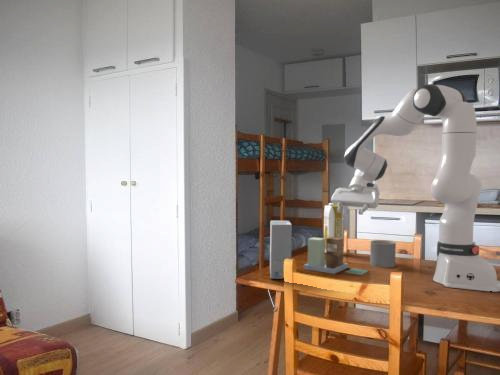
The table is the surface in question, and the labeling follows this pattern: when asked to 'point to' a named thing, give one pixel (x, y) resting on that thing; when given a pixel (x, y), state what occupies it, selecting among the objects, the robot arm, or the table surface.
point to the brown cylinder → (334, 252)
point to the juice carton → (333, 222)
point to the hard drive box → (279, 246)
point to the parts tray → (326, 270)
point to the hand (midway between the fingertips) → (349, 212)
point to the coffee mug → (382, 253)
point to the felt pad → (356, 271)
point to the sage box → (316, 252)
